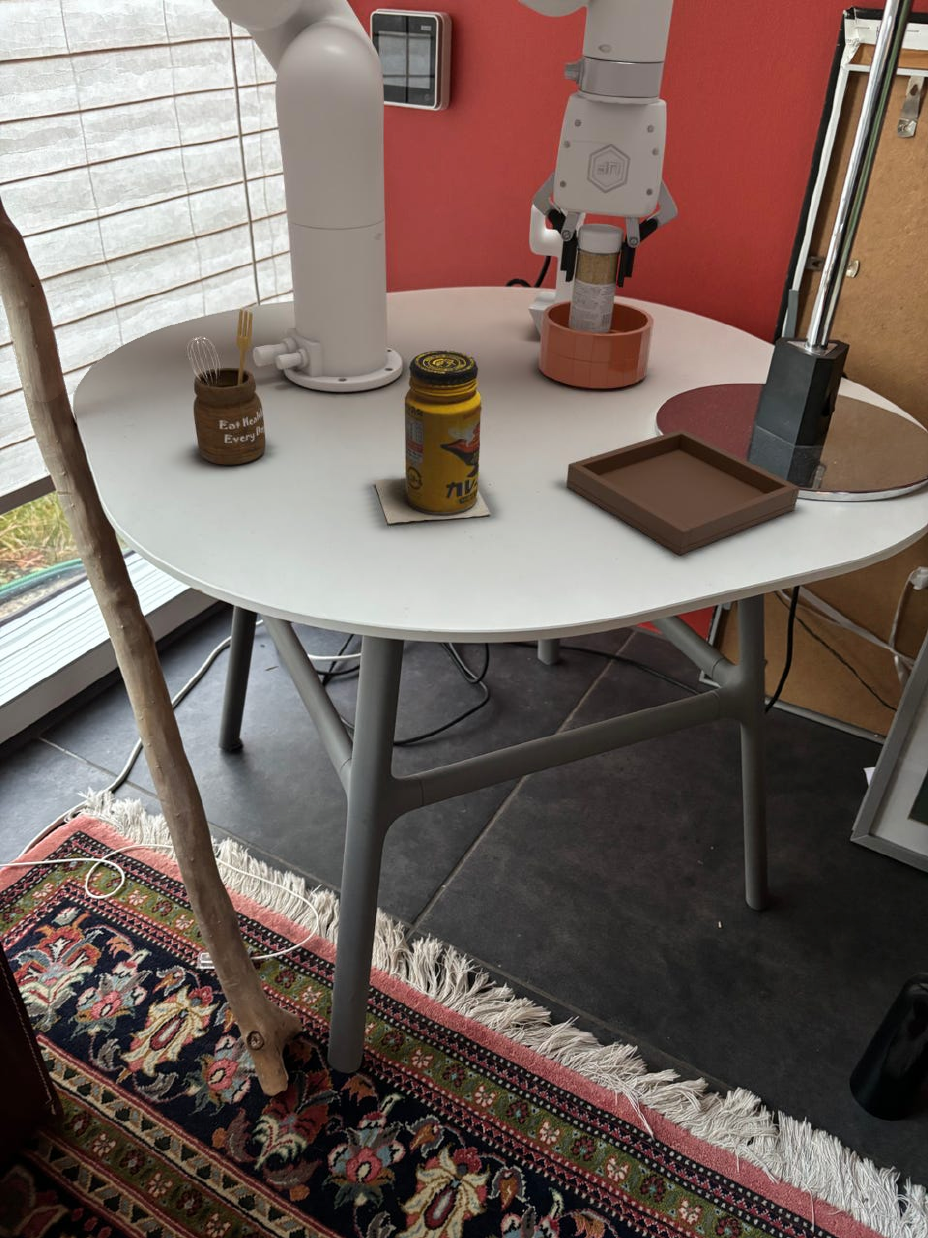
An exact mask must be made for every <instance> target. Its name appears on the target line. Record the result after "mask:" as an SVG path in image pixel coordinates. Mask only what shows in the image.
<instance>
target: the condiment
mask: <svg viewBox="0 0 928 1238" xmlns="http://www.w3.org/2000/svg"><path fill="white" fill-rule="evenodd" d="M408 368H409V378H408V379H409V380H408V386H409V389H408V390H407V391H406V394H405V396H404V439H405V440H404V453H405V456H404V458H405V461H404V462H405V467H404V468H405V478H404V477H403V478H381V479H374V480H373V481H374V484H375V488H376V490H377V494H378V498H379V501H380V504H381V508H382V510H383V513H384V517H385V518H386V522H387V524H396V523H407V522H413V521H414V522H420V521H425V520H428V521H431V520H451V519H462V518H471V517H472V518H473V517H482V516H489V515H491V514H492V513H491V512H490V510H489V508H488V506H487V503H486V502H485V500H484V499H483V497H482V495H481V493H480V491H479V473H480V452H481V451H480V449H481V447H480V446H481V420H482V419H481V416H482V415H481V413H482V410H483V407H482V398H481V395H480V392H479V391H478V390H477V389H478V386H479V383H478V374H479V373H478V372H479V367H478V364H477V362H476V360H475V359H474V357H472V356H469V355H468V354H466V353H462V352H459V351H454V350H431V351H425V352H422V353H420V354H418V355H417V356H416V355H415V357H413V359H412V360H411V361H410V363H409V367H408Z"/></svg>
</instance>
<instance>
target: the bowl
mask: <svg viewBox="0 0 928 1238" xmlns="http://www.w3.org/2000/svg"><path fill="white" fill-rule="evenodd" d="M570 308H571V300H570V301H565V302H560V303H556V304H553V305H551V306H549V307H547V308H546V309H545V310H544V311H543V313H542V325H541V336H540V340H539V355H538V366H539V367H538V368H539V370H540V371H541V372H542V374H544V375H545V376H546V377H548V378H551V379H553V380H554V381H557V382H560V383H562V384H565V385H569V386H572V387H576V388H583V389H591V390H592V389H594V390H606V389H616V388H622V387H626V386H629V385H633V384H636V383H638V382H639V381H642V380H643V379H644V378H645V376H646V374H647V372H648V365H649V359H650V351H651V345H652V344H651V343H652V336H653V330H654V323H655V322H654V319H653V316H652V315H651V314H650V313H649V312H647V311H646V310H644V309H642V308H639V307H638V306H637V307H636V306H635V305H631V304H628V303H623V302H619V301H614V303H613V310H612V317H611V324H610V330H609V333H608V334H606V333H589V332H582V331H576V330H573V329H569V317H570Z"/></svg>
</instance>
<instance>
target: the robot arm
mask: <svg viewBox="0 0 928 1238" xmlns="http://www.w3.org/2000/svg"><path fill="white" fill-rule="evenodd" d="M517 1H518V2H519V3H520V4H522V5H523V6H525V7H526V8H528V9H530V10H531V11H535V12H536V13H538V14H540V15H541V16H542V15H543V16H546V17H550V18H551V17H552V18H554V17H555V18H559V17H565V16H569V15H571V14H574V13H575V12H578V11H579V10H580V9H581V8H583V7H585V8H586V16H585V25H584V36H583V45H582V56H581V58H579V59H578V61H573V62H565V66H564V75H563V76H564V80H571V81H572V82H575V85H578V86H577V88H578V92H574V93H572V94H570V95H569V97H568V101H567V105H566V107H565V110H564V111H565V112H564V115H563V120H562V126H561V131H560V137H559V144H558V152H557V156H556V164H555V169H554V171H553V172H552V173H551V175H549V177H548V178H547V179H546V180H545V182H544V183H543V184H542V185H541V186H540V188H539V189H538V190H537V191H536V193H535V194H534V195H533V197H532V198H531V203H532V205H534V206H535V207H536V208H537V209H538V210H539V211H540V212H541V213H542V214H543V215H545V218H547V220H548V222H550V224H551V225H552V226H553V228H554V230H557V231H558V233H559V234H560V235H561V238H562V240H563V247H562V256H561V266H560V271H566V279H565V282H570V281H573V277H574V273H575V265H576V256H577V239H578V237H577V230H576V229H575V228H576V225H577V222H578V219H579V217H580V214H581V213H586V214H591V215H600V216H601V215H602V216H612V217H622V218H623V217H624V219H625V229H626V230H625V231H626V235H625V236H624V241H623V244H622V249H621V251H620V252H621V253H620V255H619V262H618V270H617V277H616V287H618V288H622V289H623V288H624V285H625V278H629V279H631V278H632V276H633V270H634V264H635V256H636V250H637V247H638V246H639V245H640V244H641V243H642V242H643V241H644V240H645V239H647V238H648V237H649V236H650V235H652V234H653V233H654V232H655V231H657V229H660V228H661V227H663V226H665V225H666V224H668V223H670V222H672V221H673V220H674V219H676V218H677V216H678V214H679V212H678V211H679V209H678V207H677V205H676V203H675V201H674V199H673V197H672V196H671V194H670V191H669V189H668V188H667V186H666V183H665V181H664V180H663V169H664V158H665V151H666V142H667V141H666V140H667V114H668V113H667V102H666V101H665V100H664V99H661V98H660V94H661V86H662V81H663V75H664V74H663V73H664V67H665V61H666V54H667V48H668V47H667V46H668V41H669V40H668V39H669V33H670V26H671V20H672V14H673V13H672V12H673V6H674V0H517ZM211 2H212V3H213V5H214V6H215V8H216V9H217V10H218V11H219V12H220V13H221V15H223V17H225V18H226V19H227V20H229V21H230V22H231V23H233V24H234V25H236V26H238V27H240V28H242V29H246V31H247V32H248V34H249V35H250V36H251V39H252V40H253V41H254V42H255V44H256V45H257V47H258V49H259V50H260V51H261V53H262V54H263V56H264V57H265V59H266V60H267V62H268V63H269V65H270V66H271V68H272V69H273V71H274V73H275V74H276V77H275V90H274V91H275V93H274V97H275V98H274V99H275V100H274V101H275V112H276V123H277V128H278V138H279V146H280V153H281V162H282V172H283V183H284V197H285V208H286V219H287V230H288V232H287V233H288V245H289V258H290V273H291V285H292V299H293V311H294V324H295V325H294V326H295V327H292V328H287V329H286V338H282V339H281V340H280V341H279V343H276V344H266V345H260V346H256V347H253V349H252V358H253V361H254V364H255V365H256V366H257V367H264V366H268V365H273V364H275V365H276V367H277V369H278V370H283V372H284V375H285V376H286V377H287V378H288V380H289V381H291V382H293V383H294V384H295V385H296V384H297V385H299V386H302V387H304V388H306V389H311V390H317V391H323V392H333V393H334V392H335V393H339V392H340V393H346V392H347V393H349V392H350V393H351V392H360V391H367V390H371V389H377V388H379V387H383V386H385V385H388V384H390V383H392V382H394V381H395V380H396V379H398V378H399V377H400V376H401V374H402V373H403V368H404V367H403V358H402V356H401V354H399V352H397V351H395V350H394V349H392V348H390V347H389V346H388V306H387V305H388V302H387V297H388V296H387V256H386V255H387V253H386V251H387V250H386V249H387V247H386V212H385V209H386V208H385V207H386V206H385V205H386V204H385V203H386V202H385V163H384V162H385V159H384V158H385V157H384V155H385V154H384V145H385V144H384V143H385V142H384V141H385V140H384V125H385V124H384V122H385V120H384V119H385V118H384V117H385V116H384V115H385V97H384V95H385V94H384V93H385V92H384V76H383V69H382V63H381V59H380V56H379V54H378V52H377V49H376V47H375V45H374V44H373V41H372V40H371V37H370V36H369V35H368V33H367V32H366V30H365V28H364V27H363V24H361V22H360V20H359V19H358V17H357V15H356V14H355V11H354V10H353V8H352V7H351V5H350V4H349V2H348V0H211ZM552 195H553V196H552ZM551 196H552V197H553V201H552V199H551ZM657 205H659V207H660V208H659V210H658V211H656V212H655V210H656V208H657ZM560 208H561V209H563V210H566V211H568V214H567V217H566V216H565V215H564V213H563V212H562V211H561V210H560ZM654 212H655V213H654ZM653 213H654V214H653ZM645 217H647V218H645ZM640 218H645V219H644V220H643V221H641V223H640Z"/></svg>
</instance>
